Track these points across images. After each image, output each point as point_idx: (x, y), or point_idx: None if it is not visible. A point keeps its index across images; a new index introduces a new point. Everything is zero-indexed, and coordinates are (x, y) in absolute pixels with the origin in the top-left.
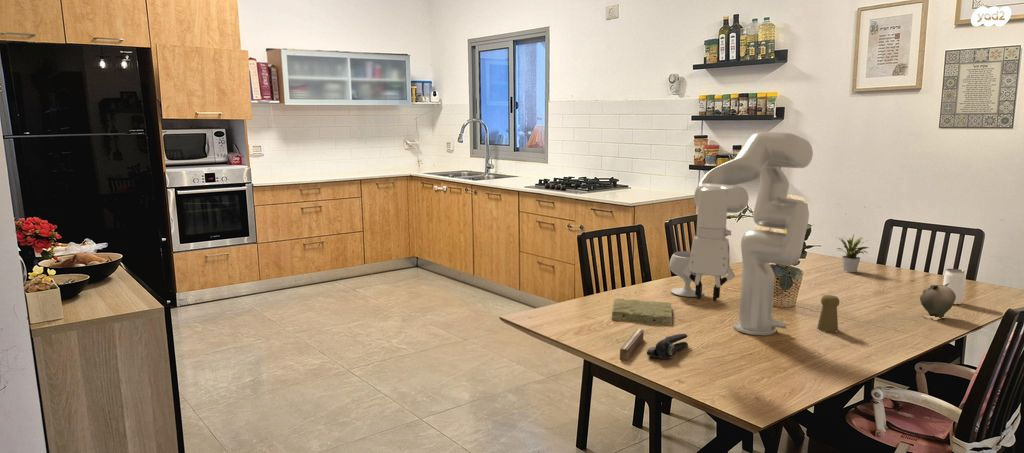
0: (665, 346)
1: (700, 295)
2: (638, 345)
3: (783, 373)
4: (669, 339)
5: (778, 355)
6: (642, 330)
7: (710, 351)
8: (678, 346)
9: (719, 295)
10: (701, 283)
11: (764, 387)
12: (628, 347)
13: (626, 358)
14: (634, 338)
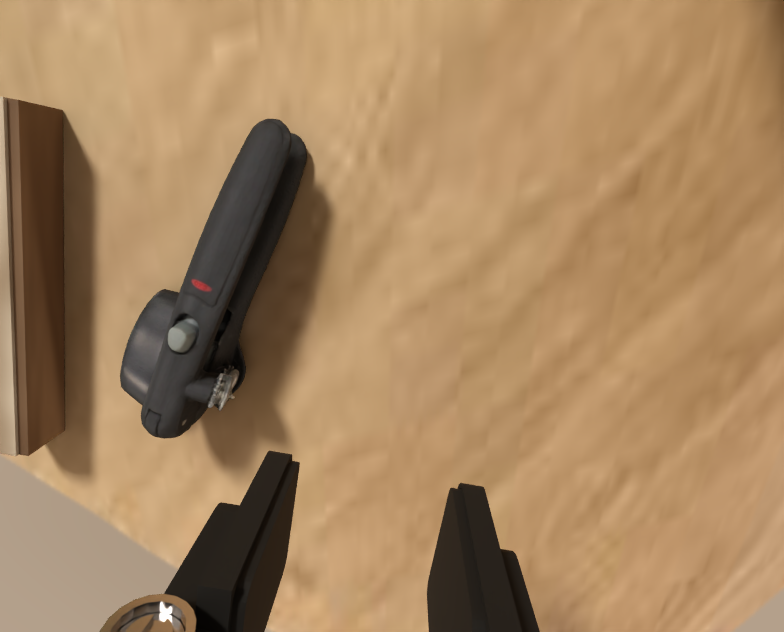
0: (191, 407)
1: (280, 564)
2: (62, 222)
3: (726, 412)
4: (193, 357)
5: (779, 172)
6: (14, 114)
7: (426, 208)
8: (258, 267)
9: (514, 564)
10: (231, 605)
11: (607, 564)
12: (23, 422)
13: (56, 434)
14: (12, 283)
